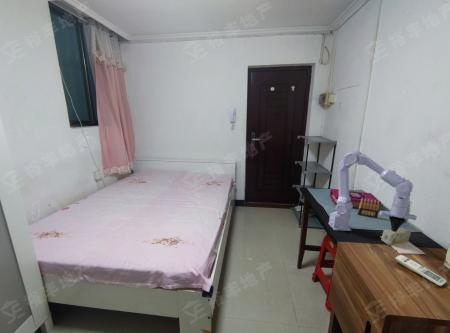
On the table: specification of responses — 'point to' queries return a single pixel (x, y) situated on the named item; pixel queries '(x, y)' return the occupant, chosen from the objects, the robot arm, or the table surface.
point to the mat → (406, 248)
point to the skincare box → (395, 236)
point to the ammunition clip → (368, 208)
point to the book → (354, 198)
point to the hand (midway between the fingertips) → (393, 230)
